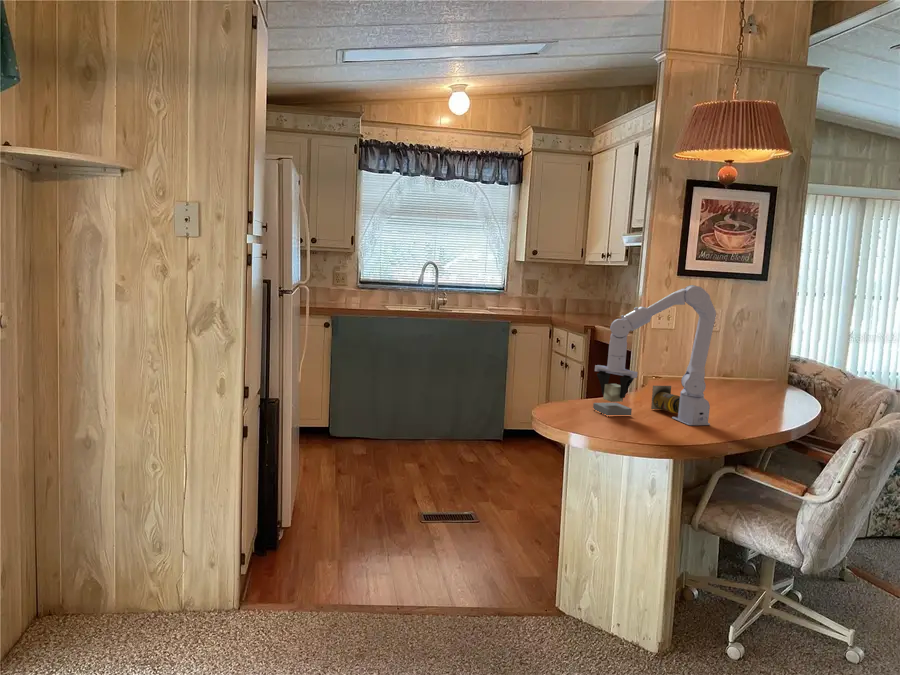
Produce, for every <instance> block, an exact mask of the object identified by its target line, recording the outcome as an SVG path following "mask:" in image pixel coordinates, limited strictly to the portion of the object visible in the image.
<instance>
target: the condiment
mask: <svg viewBox="0 0 900 675" xmlns="http://www.w3.org/2000/svg"><path fill="white" fill-rule="evenodd" d="M679 402H680V395H676V394H673V393H672V385H652V395H651V404H650V405H651V408H650V409H661V411H665V412H669V413H672V414H678V411H679Z"/></svg>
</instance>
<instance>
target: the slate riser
mask: <svg viewBox="0 0 900 675" xmlns="http://www.w3.org/2000/svg"><path fill="white" fill-rule="evenodd" d="M593 408H594V409H595V410H597V411H599V412H601V413H603V414H606V415H631V416H632V412H633V411H632V410H633V409H632V408H631V407H629V406H626V405H623V404H621V403H619V402H593V405H592V409H593Z"/></svg>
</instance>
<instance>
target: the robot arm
mask: <svg viewBox="0 0 900 675" xmlns="http://www.w3.org/2000/svg"><path fill="white" fill-rule="evenodd" d="M686 304H687V305H688V306H690V307H692V308H693V310H694V311H695V312H696V314H697V315H698V320H697V324H696V330H695V336H694V339H693V343H692V344H693V345H692V349H691V354H690V359H689V361H688V362H689V363H688V365H687V367H686V371H685V373H684V374H683V375H682V377H681V380H680V381H681V382H680V383H681V386H682V387H683V388H682V389H681V391H680V392H679V393H680V394H679V396H680V402H679V411H678V413H677V416H672V417H671V418H672V420H676V421H678V422H680V423H683V424H685V425H687V426H710V425H711V423H710V422H709V417H710V408H711V407H710V402H709V401H708V400H707V399H706V398H705V394H704V392H705V391H706V385H707V384H706V382H705V376H706V371H705V370H706V364H707V359H708V354H709V350H710V349H709V348H710V345H711V341H712V335H713V332H714V327H715V321H716V317H717V311H716V309H715V306H714V304H713V302H712V300H711V296H710V293H708V291H706V290H705V289H704V288H703V287H701V286H697V285H694V284H692V285H691V284H690V285H688V286H687V285H686V286H685V287H684V288H680V289H678V290H676V291H674V292H672V293H670V294H667V295H666V296H665V297H663V298H661V299H660V300H657V301H656V302H654V303H653V304H650V305H649V306H648V307H644V306H639V307H638V306H635V307H634V308H633V311H630V312H628V313H626V314H625V315H624V314H622V315H620V318H616V319H614V320H613V321H612V322H611V323H610V326H609V329H610V332H611V333H610V336H609V343H608V353H607V355H608V356H607V364H606V365H601V364H597V365H596V364H595V365H594V372H597V373H596V377H597V379H598V380H599V384H600V388H601V394H602V396H604V386H605V384H609V380H610V377H611V374H612V375H617V376H620V377H619V380H620V385H621V391H620V398H623V399H625V398H626V396H627V391H628V389H629V388H630V386H631V384H632V383H633V381H634V380H635V379H637V378H638V371H633V370H631V369H627V368H626V360H627V351H628V350H627V348H628V335H629V333H630V332H633V331H635V330H637V329H639V328H642V327H643V326H645V325H647V324H648V323H650V322H651V319H652V317H653V316H655V315H657V314H659V313H661V312H662V311H665V310H667V309H669V308H671V307H673V306H677V305H679V306H680V305H681V306H684V305H686Z"/></svg>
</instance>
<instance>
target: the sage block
mask: <svg viewBox="0 0 900 675" xmlns="http://www.w3.org/2000/svg"><path fill="white" fill-rule="evenodd" d="M620 391H621V384H617V383H608V384H605V386H604V395H603V397H602V398H603V400H606V401H608V402H609V403H619V402H623V401H624V400H623V399H624V398H620Z"/></svg>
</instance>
